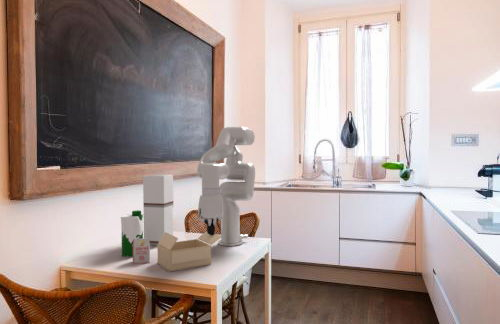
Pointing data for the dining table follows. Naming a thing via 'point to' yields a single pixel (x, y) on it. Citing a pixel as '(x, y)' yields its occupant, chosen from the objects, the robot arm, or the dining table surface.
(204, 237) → the flap
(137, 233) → the milk carton
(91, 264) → the dining table surface
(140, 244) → the white red printed box
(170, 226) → the white banded tower
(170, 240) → the flap
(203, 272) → the dining table surface
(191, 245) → the carton
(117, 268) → the dining table surface
